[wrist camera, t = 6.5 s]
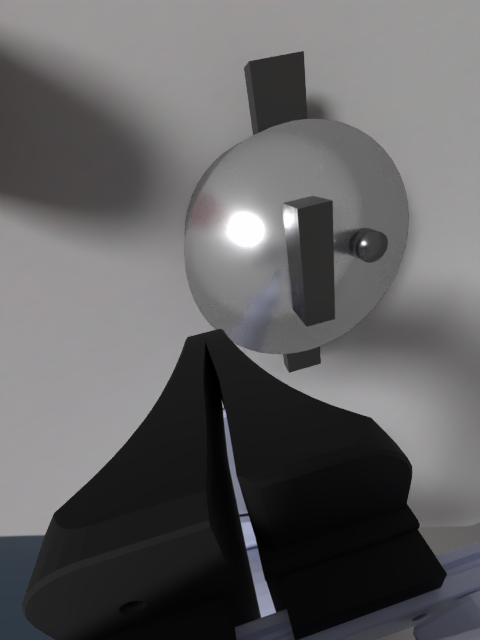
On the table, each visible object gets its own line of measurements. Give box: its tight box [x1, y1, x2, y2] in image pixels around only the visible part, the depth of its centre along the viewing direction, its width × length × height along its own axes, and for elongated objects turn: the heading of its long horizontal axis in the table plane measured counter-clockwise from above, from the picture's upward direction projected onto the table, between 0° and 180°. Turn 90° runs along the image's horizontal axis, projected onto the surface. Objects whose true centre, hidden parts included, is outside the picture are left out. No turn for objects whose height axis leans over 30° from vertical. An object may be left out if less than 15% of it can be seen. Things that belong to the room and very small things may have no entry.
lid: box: [184, 119, 409, 354], centre depth 15 cm, size 12×12×3 cm
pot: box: [185, 51, 321, 372], centre depth 18 cm, size 17×12×4 cm
